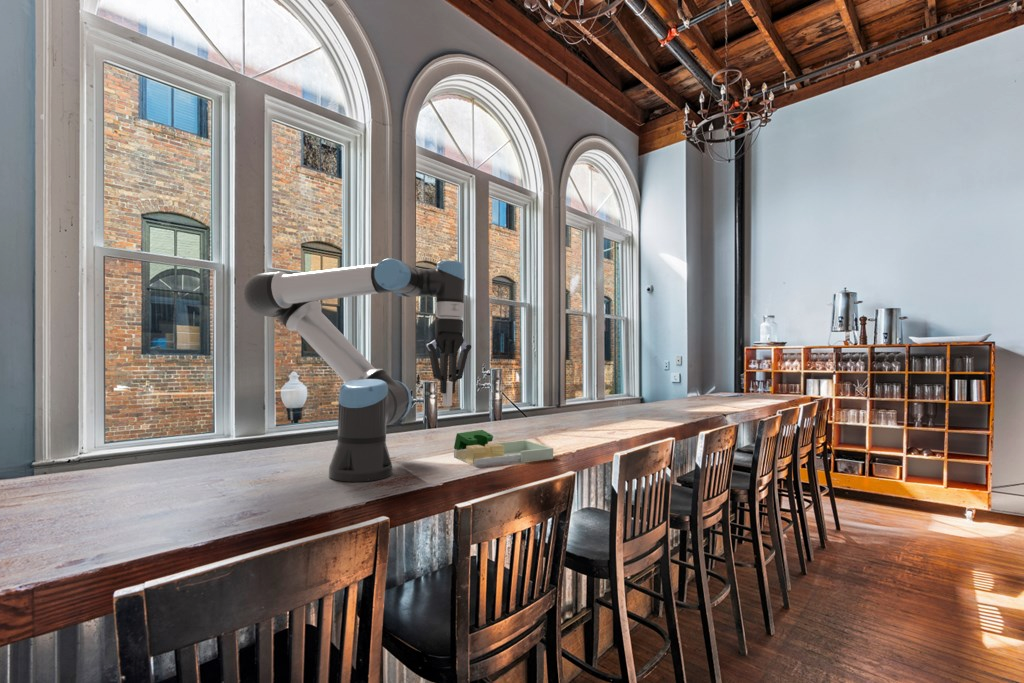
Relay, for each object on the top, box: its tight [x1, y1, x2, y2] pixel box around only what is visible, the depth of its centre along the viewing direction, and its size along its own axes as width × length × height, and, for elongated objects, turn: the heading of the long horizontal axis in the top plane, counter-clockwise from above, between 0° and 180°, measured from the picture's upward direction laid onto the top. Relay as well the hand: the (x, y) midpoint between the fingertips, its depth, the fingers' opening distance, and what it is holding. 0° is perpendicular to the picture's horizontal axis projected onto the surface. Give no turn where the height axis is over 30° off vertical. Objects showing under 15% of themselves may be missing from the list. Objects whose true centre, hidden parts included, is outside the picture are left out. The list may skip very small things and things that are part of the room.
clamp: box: [453, 429, 494, 450], centre depth 159 cm, size 12×6×9 cm, turn 132°
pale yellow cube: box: [485, 442, 504, 457], centre depth 145 cm, size 4×4×4 cm
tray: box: [497, 439, 554, 463], centre depth 150 cm, size 11×14×4 cm
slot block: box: [453, 449, 521, 468], centre depth 143 cm, size 14×13×3 cm
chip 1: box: [466, 445, 486, 463], centre depth 142 cm, size 4×4×4 cm
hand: (447, 405), depth 137 cm, fingers closed
